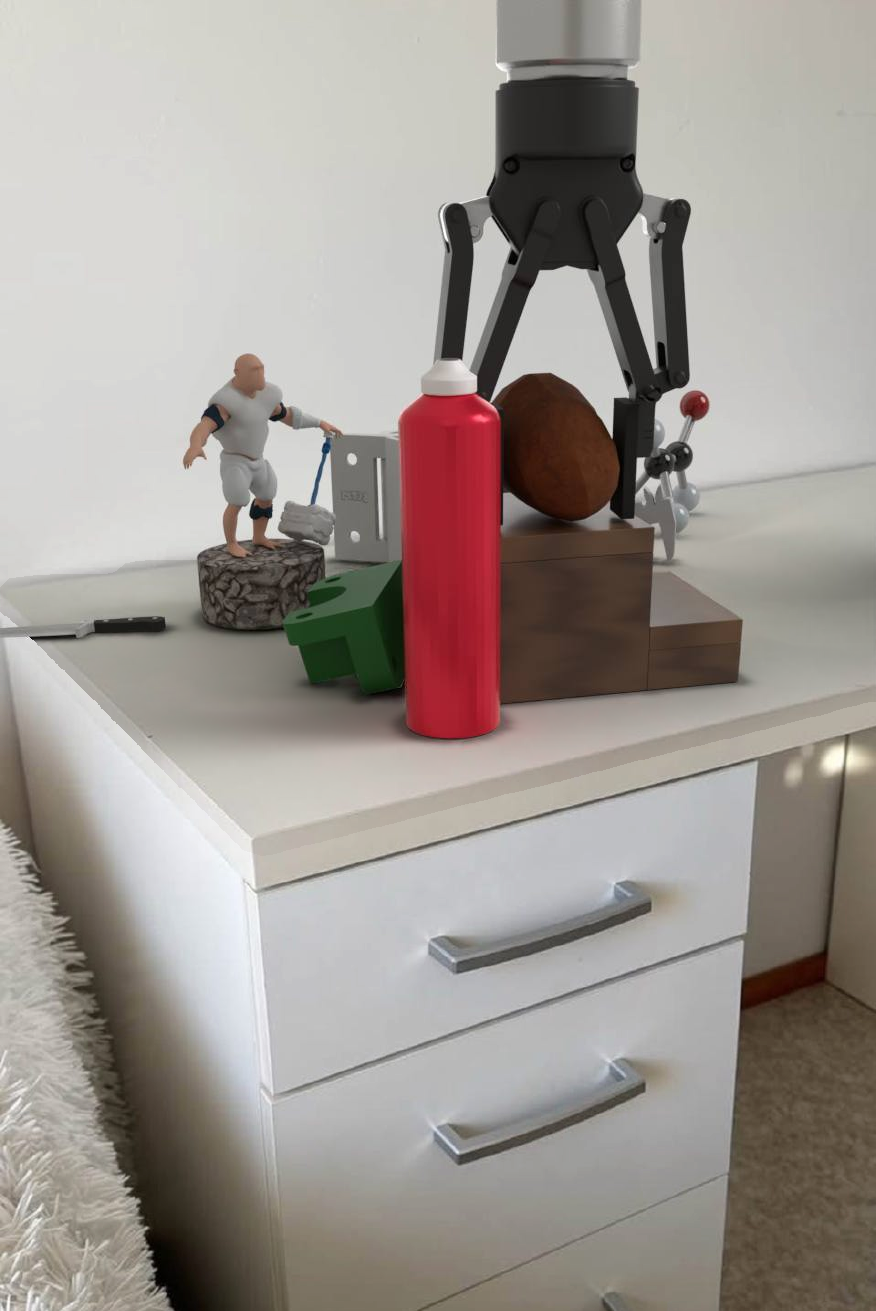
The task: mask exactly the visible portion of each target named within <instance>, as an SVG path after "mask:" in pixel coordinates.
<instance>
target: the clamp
mask: <svg viewBox="0 0 876 1311" xmlns="http://www.w3.org/2000/svg"><path fill="white" fill-rule="evenodd" d="M307 596H308V599H309V602H310V605H311V607H310V608H306V609H302V610H297V611H292V612H290V613H289V614H288V615H287V616H286V617H285V619H284V620H283V621H282V624H283V627H282V628H283V629H284V632H285V636H286V639H287V642H288V645H289V646H291V647H298V650H299V653H300V658H301V659H302V662H303V666H304V670H305V672H306V675H307V678H308V682H309V684H312V685H313V684H315V683H320V682H325V681H330V680H334V679H339V678H344V677H349V676H354V675H356V676H357V679H358V684H359V685H360V688H361V690H362V691H363V693H364V694H365V695H371V694H377V693H381V692H385V691H390V690H394V689H395V690H396V689H399V688H402V686H403V684H404V683H405V657H404V620H403V583H402V559H401V560H397V561H392V562H383V563H381V564H376V565H372V566H367V567H363V568H359V569H355V570H350V571H346V572H341V573H337V574H333V575H331V576H330V575H329V576H327V577H326V578H324V579H322V580H319V581H317V582H316V583H314V584H313V585H312V586H311V588H310V589H309V590H308V591H307Z"/></svg>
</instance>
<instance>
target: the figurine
mask: <svg viewBox="0 0 876 1311" xmlns="http://www.w3.org/2000/svg"><path fill="white" fill-rule="evenodd" d="M233 373H234V376H232V377H231V378H230V379H229V380H228V381H227V382H226V383H225V384H224V385H223V386H222V387H221V388H219V390H217V391H216V392H215V393H214V394H213V395H212V396H211V397H210V398H209V400H208V403H207V408H205V409H204V411H203V413H202V415H201V417H200V421H199V422H198V423H197V425H196V426H195V427H194V428H193V429H192V431H191V433H190V437H189V447H188V449H187V450H186V452H185V454H184V455H183V457H182V458H183V459H182V464H183V468H184V470H189V469H190V467H192V465H193V462H194V460H196V459H197V458H198V457H199V458H203V459H204V461H207V459H208V458H207V456H206V453H205V451H204V449H203V447H205V446H206V445H207V442H208V438H210V436H211V435H212V437H213V438H214V439H215V440H217V441H218V442H219V443H220V446H221V447H222V449H221V451H220V453H219V460H220V463H219V475H220V479H221V482H222V484H221V489H222V495H223V497H224V499H225V501H226V503H227V505H226V508H225V509H224V512H223V515H222V529H223V534H224V537H225V541H226V543H221V544H218V545H215V546H211V547H208V548H206V549H204V550H202V551H200V552H199V553H198V554H197V555H196V562H197V573H198V585H199V597H200V607H201V615H202V618H203V619H204V620H205V621H207V622H208V623H210V624H212V625H215V626H218V627H222V628H226V629H227V628H228V629H235V630H271V629H280V628H284V627H283V624H282V621H283V620H284V619H285V617H286V616H287V615H288V614H289V613H290V612H292V611H297V610H302V609H306V608H310V607H311V605H310V602H309V599H308V596H307V591H308V590H309V589H310V588H311V586H312V585H313V584H314V583H316V582H317V581H319V580H322V579H324V578H327V577H326V576H327V575H326V562H325V561H326V559H325V558H326V557H325V548H323V547H322V546H327V545H329V543H330V540H331V535H333V533H334V524H335V521H336V516H335V514H333V511H330V510H329V509H328V508H325V507H323V506H321V505H319V504H316V502H317V497H318V494H319V488H320V482H321V480H322V476H323V471H324V466H325V464H326V460H327V456H328V454H330V448H331V444H330V440H332V439H333V437H334V433H335V434H336V439H337V437H338V435H339V438H341V435H342V436H343V434H342V433H343V431H341V430H340V429H339V428H337V427H336V426H334V425H333V424H331V423H329V422H327V421H325V420H323V419H321V418H320V417H315V416H313V415H312V414H309V413H307V412H304V411H303V410H302V409H301V408H299V407H297V406H294V405H290V406H285V405H284V402H283V401H282V400H283V396H284V395H283V391H282V389H281V388H280V387H279V386H278V385H276V384H275V383H273V382H269V381H266V376H265V365H264V363H263V362H262V361H261V359H260V358H259V357H258V356H257V355H255V354H253V353H249V352H248V353H243V354H241V355H239V356H238V357H237V358H236V360H235V362H234V368H233ZM269 421H270V422H273V423H277V422H280V423H282V424H284V425H286V426H288V427H289V428H290V427H291V428H292V430H296V431H298V430H300V429H301V430H303V429H311V428H315V429H321V430H322V431H323V435H322V437H323V438H325V442H323V444H322V447H321V453H322V455H321V460H320V463H319V465H318V469H317V473H316V477H315V480H314V487H313V490H312V493H311V498H310V504H307V505H305V504H304V505H303V504H300V503H296V502H295V501H294V500H287V501H286V502H285V503H284V507H283V511H282V512H281V514H280V518H279V519H280V521H278V525H277V530H278V532H279V533H281V534H282V535H285V537H287V538H268V537H267V536H265V534H266V532H267V528H268V523H269V520H271V519H272V518H273V512H274V509H273V508H274V504H273V502H274V501H273V500H274V499H275V498H276V496H277V491H278V478H277V475H276V472H275V470H274V469H273V466H272V465H271V462H270V461H269V460H268V459H265V458H264V450H265V446H266V442H267V440H268V438H269V432H270V426H269V424H268V422H269ZM251 494H252V495H253V496H254V498H253V500H252V502H251ZM250 502H251V504H250ZM249 504H250V507H249V511H248V516H249V518H250V519H251V520H252V534H253V535H252V538H251V539H243V540H237V537H236V535H237V527H238V517H239V513H240V512H241V510H242V508H243V507H244V508H245V507H248V505H249Z"/></svg>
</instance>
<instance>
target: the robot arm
mask: <svg viewBox="0 0 876 1311" xmlns="http://www.w3.org/2000/svg"><path fill="white" fill-rule="evenodd" d="M495 1H496V5H495V7H496V8H495V11H496V12H495V66H496V67H497V68H498V70H500V71H501V72H505V73H506V82H502V83H500V84H499V85H498V89H497V90H495V94H494V95H495V97H494V98H495V100H494V102H495V103H494V104H495V105H494V106H495V107H494V110H495V112H494V113H495V117H494V119H495V120H494V124H495V128H494V131H495V134H494V142H495V143H494V145H495V146H494V173H493V177H492V179H491V182H490V184H489V186H488V188H487V191H486V194H485V195H483V196H480V197H477V198H473V199H470V200H466V201H462V202H445V203H443V204H441V205H440V206H439V208H438V211H437V218H438V224H439V229H440V232H441V237H442V241H443V242H442V243H443V246H444V258H443V266H442V274H441V275H442V277H441V287H440V294H439V295H440V296H439V304H438V314H437V322H436V323H437V324H436V334H435V342H434V352H433V362H432V366H433V365H434V363H435V362H436V360H437V359H444V358H456V359H461V361H462V362H463V359H464V350H465V342H466V341H465V340H466V331H467V323H468V314H469V307H470V306H469V304H470V297H471V287H472V278H473V271H474V270H473V269H474V260H475V257H474V256H475V253H474V251H475V250H474V244H476V243H478V242H479V241H480V240H481V239H482V237H483V235H484V226H485V223H486V221H487V220H488V219H489V218H490V217H491V219H492V220H493V222H494V223H495V225H496V226H497V229H498V230H499V231H500V232H501V234H502V236H503V237H504V238H505V240H506V242H507V243H508V245H509V246H510V248H509V250H508V254H507V257H506V259H505V261H504V262H505V263H504V265H503V268H502V272H501V277H500V278H501V279H500V282H499V284H498V287H497V291H496V294H495V296H494V298H493V302H492V305H491V308H490V310H489V314H488V315H487V319H486V323H485V325H484V327H483V330H482V334H481V335H480V336H481V337H480V339H479V342H478V345H477V347H476V350H475V354H474V356H473V358H472V362H471V365H470V367H469V369H468V370H469V371H470V372H472V373H473V374H475V375H476V376H477V391H476V392H475V393H476V394H478V395H479V396H481V397H482V398H483V399H485V400H486V401H487V402H489V403H490V404H491V405H493V406H494V407H495V408H496V409H497V411H498V413H499V415H500V418H501V525H503V461H504V409H503V408H501V407H500V406H499V405H497V404H496V403H495V402H494V403H491V402H492V398H493V395H494V392H495V390H496V387H497V384H498V381H499V378H500V375H501V372H502V370H503V367H504V365H505V364H504V363H505V362H506V360H507V356H508V353H509V350H510V347H511V345H512V342H513V339H514V336H515V334H516V331H517V328H518V326H519V322H520V320H521V317H522V314H523V311H524V309H525V306H526V303H527V300H528V298H529V295H530V293H531V291H532V288H533V287H534V285H535V284H536V281H537V279H538V276H539V274H540V271H555V270H558V269H561V268H564V267H570V268H574V269H578V270H586V272H587V274H588V278H589V280H590V281H591V283H592V285H593V287H594V290H595V293H596V296H597V299H598V303H599V305H600V309H601V312H602V314H603V318H604V321H605V324H606V328H607V330H608V334H609V337H610V340H611V343H612V347H613V349H614V353H615V355H616V358H617V362H618V365H619V368H620V372H621V374H622V377H623V380H624V384H625V386H626V387H625V388H626V390H627V392H628V397H626V396H625V397H624V396H623V397H613V408H612V410H613V414H612V436H611V437H612V439H613V441H614V443H615V445H616V450H617V455H618V461H619V466H620V471H619V478H618V485H617V488H616V490H615V492H614V494H613V496H612V498H611V500H610V510H611V511H612V512H613V513H615V514H616V515H617V516H618V517H620V518H621V519H634V515H635V501H636V495H635V492H636V480H637V469H638V468H637V467H638V459H642V458H643V459H645V458H646V457H650V455H651V453H652V450H653V445H654V425H655V419H656V406H657V403H658V402H659V401H660V400H661V398H662V397H663V395H664V394H666V393H669V392H671V391H673V390H675V389H683V388H685V387H686V386H687V385H688V384H689V382H690V379H691V378H690V377H691V372H690V371H691V370H690V355H689V339H688V321H687V320H688V319H687V318H688V317H687V304H686V303H687V302H686V287H685V285H686V284H685V271H684V270H685V268H684V267H685V266H684V251H683V245H684V243H685V242H684V241H685V237H686V233H687V230H688V225H689V222H690V218H691V214H692V208H691V203H689V201H688V200H686V199H684V198H672V197H671V198H669V197H668V198H665V197H661V196H655V195H652V194H648V193H644V190H643V186H642V184H641V182H640V180H639V177H638V173H637V168H636V166H637V165H636V164H637V150H638V149H637V148H638V126H639V124H638V123H639V122H638V121H639V97H640V88H639V87H638V86H636V81H635V80H630V79H629V70H631V69H635V68H636V67H637V66H639V64H640V63H641V58H642V57H641V56H642V26H643V25H642V22H643V21H642V20H643V0H495ZM637 215H638V216H639V217H640V219H641V222H642V227H641V228H642V233H643V234H644V235H645V237H647V238H649V243H648V261H649V276H650V277H649V278H650V290H651V291H650V292H651V307H652V320H653V322H652V323H653V334H654V335H653V337H654V350H655V365H656V367H655V368H654V367H653V364H652V361H651V357H650V355H649V352H648V349H647V345H646V342H645V338H644V335H643V333H642V329H641V325H640V322H639V320H638V316H637V313H636V309H635V307H634V303H633V300H632V296H631V294H630V289H629V287H628V283H627V281H626V269H625V266H624V263H623V260H622V257H621V254H620V251H619V247H618V243H619V242H620V241H621V239H622V238H623V237H624V235H625V233H626V232H627V230H628V229H629V227H630V226H631V225H632V223H633V222H634V220H635V218H636V217H637Z"/></svg>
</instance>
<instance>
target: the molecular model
mask: <svg viewBox="0 0 876 1311" xmlns="http://www.w3.org/2000/svg"><path fill="white" fill-rule="evenodd" d="M710 406H711V404H710V400H709V397H708V396H707V394H706V393H704V392H703V391H701V390H697V389H692V390H690V391H687V392H686V393H685V394H684V395H683V396H682V397H681V399H680V401H679V412H680V414H681V416H682V417H683V418H684V422H683V425H682V428H681V430H680V433H679V436H678V438H677V441H673V442H670V443H669V444H668V445H667V446H666V447H665V448H663V447H660V446H661V445H662V444H663V442H664V440H665V435H666V431H665V430H666V429H665V427H664V425H663V423H662V422H660V420H658V419H656V418H655V425H654V445H653V450H652V453H651V455H650V457H646V458H643V459H644V460H643V471H642V472H641V474H640V475H639V476H637V478H636V492H635V496H636V495H637V494H638V493H639V492H640V490H641V489H642V488H644V487H645V485H646V483H648V481H649V480H650V478H651V479H652V480H657V481H658V480H659V481H660V483H661V487H662V492H663V497H671V500H672V504H673V509H674V513H675V517H676V534H679V533H682V532H683V531H684V530H685V529H686V528H687V526H688V524H689V521H690V515H689V512H691V511H693V510H695V509H696V508H697V507H698V505H699V504H700V500H701V493H700V489H699V488H698V487H697V486H696V485H695V484H693V483H692V482H689V481H688V479H687V475H686V470H688V468H689V467H690V466H691V465H692V463H693V460H694V452H693V449H692V447H691V446H690V445H689V444H688V441H689V439H690V436H691V434H692V431H693V428H694V425H695V422H698V421H701V420H703V419H704V418H705V417H706V416H707V414H708V413H709V411H710ZM672 473H675V475H676V480H677V485H676V486H674V488H672V484H671V479H670V475H671V474H672ZM658 527H660V525H659V522H658Z"/></svg>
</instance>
